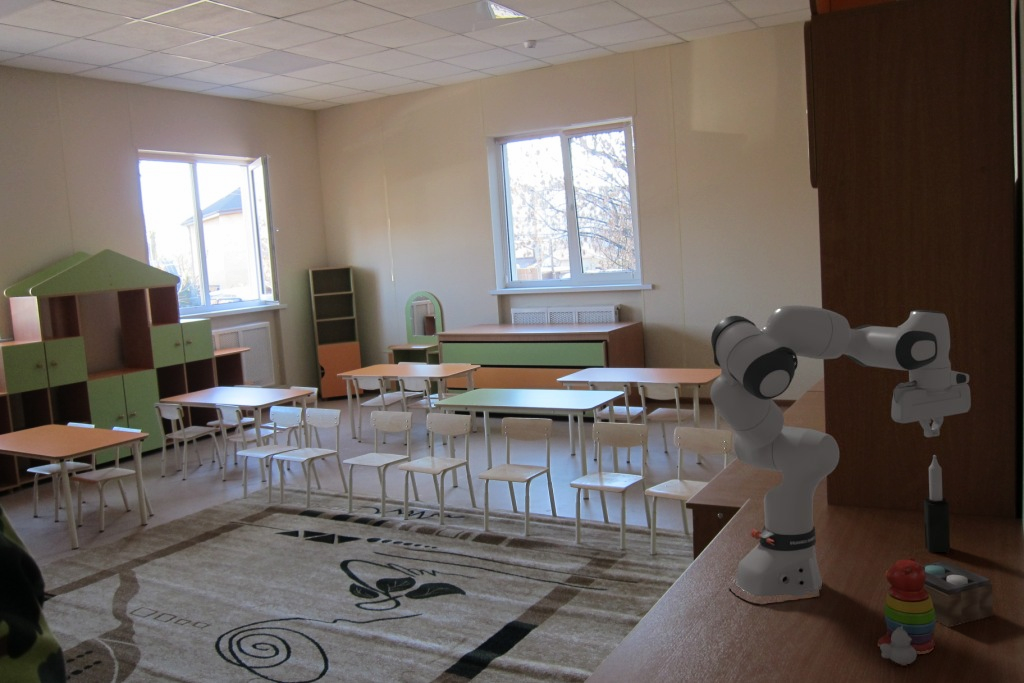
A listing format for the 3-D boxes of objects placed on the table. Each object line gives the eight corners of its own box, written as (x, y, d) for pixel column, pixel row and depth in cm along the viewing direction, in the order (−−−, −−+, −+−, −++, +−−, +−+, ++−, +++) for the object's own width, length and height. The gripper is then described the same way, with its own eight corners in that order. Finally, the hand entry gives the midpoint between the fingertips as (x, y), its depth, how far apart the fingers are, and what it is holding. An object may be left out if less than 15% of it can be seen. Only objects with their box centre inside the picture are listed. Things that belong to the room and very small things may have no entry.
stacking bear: (890, 628, 181) (887, 547, 179) (942, 639, 175) (939, 555, 173) (874, 649, 173) (871, 565, 171) (928, 662, 167) (925, 574, 165)
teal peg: (935, 608, 188) (934, 573, 187) (921, 601, 192) (920, 567, 191) (950, 604, 189) (949, 569, 188) (936, 597, 193) (935, 563, 192)
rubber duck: (920, 670, 164) (919, 630, 163) (884, 670, 165) (882, 630, 164) (912, 656, 169) (911, 618, 168) (877, 656, 171) (875, 618, 170)
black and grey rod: (951, 552, 218) (948, 457, 215) (929, 553, 219) (926, 457, 216) (945, 545, 223) (942, 451, 220) (924, 545, 224) (921, 452, 221)
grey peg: (958, 619, 182) (957, 583, 181) (943, 612, 186) (942, 577, 185) (972, 615, 183) (971, 579, 182) (958, 608, 187) (957, 573, 186)
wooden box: (948, 627, 180) (947, 591, 179) (902, 604, 192) (901, 570, 191) (993, 615, 183) (992, 579, 182) (945, 593, 195) (944, 559, 194)
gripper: (903, 386, 194) (905, 445, 196) (975, 374, 200) (976, 432, 202) (883, 382, 200) (886, 440, 202) (953, 371, 206) (955, 427, 208)
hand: (931, 436), depth 202 cm, fingers closed
